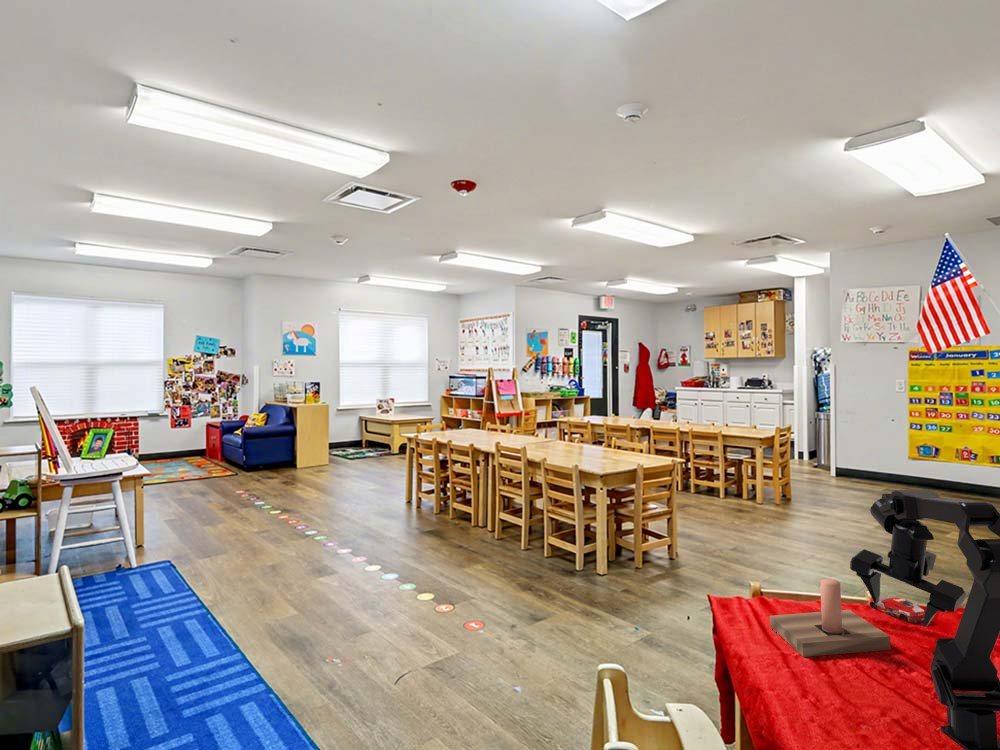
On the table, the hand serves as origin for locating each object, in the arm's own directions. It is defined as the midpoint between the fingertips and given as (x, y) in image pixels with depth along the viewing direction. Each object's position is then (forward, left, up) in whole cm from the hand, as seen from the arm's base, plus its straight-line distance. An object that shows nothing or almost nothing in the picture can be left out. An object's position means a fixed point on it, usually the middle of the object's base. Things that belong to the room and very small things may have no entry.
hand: (900, 613), depth 121 cm
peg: (+13, +7, -12) cm, 19 cm away
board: (+15, +7, -12) cm, 20 cm away
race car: (+25, -17, -12) cm, 33 cm away
